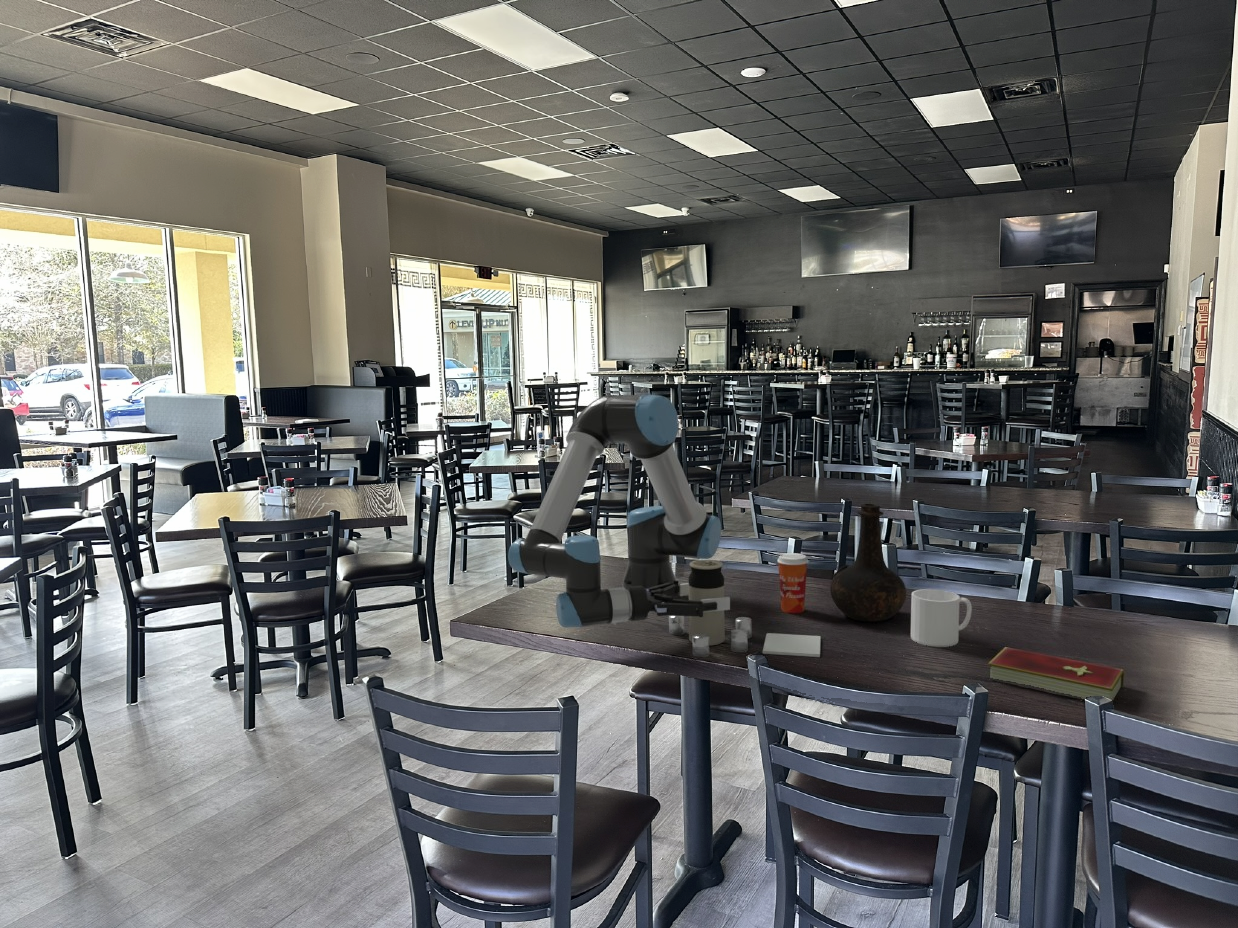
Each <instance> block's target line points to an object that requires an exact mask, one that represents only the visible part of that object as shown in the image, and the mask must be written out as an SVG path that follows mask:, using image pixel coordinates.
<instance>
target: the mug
mask: <svg viewBox="0 0 1238 928" xmlns="http://www.w3.org/2000/svg"><path fill="white" fill-rule="evenodd" d="M960 603H965V605H966V615H965V618H964V620H963V622H962V623H961V624H960V623H959V621H960ZM910 604H911V605H910V608H911V609H910V639H911V640H912V641H913V642H914V643H916V642H917V644H920V645H921V646H926V645H927V646H926V647H931V648H933V647H934V648H949V646H950V647H953V645H954V646H956V645H957V644H959V631H962V630H963V629H966V627H967V626H968V625H969V623H970V621H971V618H972V612H973V611H972V605H973V604H972V603H971V601H970V600H969V599H968V598H967V597H960V595H959V594H958V593H955V592H952V591H949V590H944V589H936V588H935V589H934V588H924V589H923V588H922V589H917V590H914V591H912V592H911V603H910Z"/></svg>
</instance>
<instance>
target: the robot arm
mask: <svg viewBox="0 0 1238 928" xmlns="http://www.w3.org/2000/svg"><path fill="white" fill-rule="evenodd" d="M678 419H679V416H678V413H677V410H676V408H675V405H674V404H673V402H672V401H671V400H670V399H669V398H667V397H665V396H663V395H658V394H657V395H654V394H627V395H626V394H607V395H603V396H601V397H599V398H596V399H595V400H593V401H592V402H591V403H589V404H588V405H587V406H586V407H585V408H584V409H583V410H582V411H580V413H579V414H578V415H577V417H576V418H575V419H574V421H572V424H571V425H570V427H569V430H568V431H567V434H566V437H565V440H566V443H567V444H566V447H565V449H564V451H563V454H562V456H561V458H560V460H559V463H558V466H557V467H556V470H555V472H554V474H553V476H552V479H551V481H550V484H549V485H548V488H547V491H546V493H545V495H544V497H543V499H542V501H541V504H540V506H539V509H538V511H537V512H536V516H535V518H534V520H533V522H532V525H531V527H530V529H529V531H528V533H527V535H526V538H517V539H515V541H513V543H511V544H510V546H509V549H508V554H507V557H508V558H507V559H508V563H509V566H510V567H511V568H512V570H513V571H516V572H517V573H521V574H527V575H538V576H542V577H543V576H545V577H549V578H558V579H564V580H565V584H566V585H565V592H564V591H563V592H561V593H559V594H558V595H557V597H556V600H555V601H556V603H555V609H556V618H557V621H558V623H559V625H560V626H561V627H562V628H565V629H566V628H568V629H569V628H584V627H591V626H599V625H600V626H601V625H608V624H613V625H614V626H617V625H618V623H626V622H628V621H630V622H637V621H646V619H647V618H648V614H649V613H650V612H655V613H656V616H658V617H663V616H665V617H667V616H669V615H672V616H684V617H689V616H699V617H703V613H704V612H713V611H722V610H724V611H729V610H731V597H730V596H724V597H721V598H712V599H702V600H701V601H692V600H689V599H681V598H674V597H676V596H678V595H679V596H680V597H684V596H689V582H686V583H679V580H676V579H677V578H676V577H675V573H674V571H673V568H672V565H671V561H670V560H671V559H670V556H674V557H681V558H688V559H695V560H710V559H711V558H713V557H714V556H715V554H716V553H717V550H718V549H719V546H720V541H721V536H722V525H721V520H720V518H719V517H718V516H715V515H713V514H712V515H709V514H708V512H707V510H706V508H705V506H704V505H703V504H702V503H700V502H698V501H696V498H695V496H694V493H693V491H692V488H691V486H690V485H689V482H688V479H687V476H686V475H685V472H684V470H683V467H682V464H681V463H680V460H679V458H678V456H677V453H676V450H675V449H674V443H675V440H676V438H677V436H678V432H679V422H678ZM609 444H625V445H626V446H627V448H628V450H629V452H630V454H631V455H632V457H634V458H635V459H637V460H640V461H641V463H642V466H643V467H644V469H645V472H646V474H647V477H648V479H649V481H650V483H651V485H652V487H653V491H654V492H655V495H656V496H657V499H658V500H659V502H660V505H655V506H645V507H640V508H636V509H634V510H630V512H628V514H627V520H626V521H627V523H626V528H627V530H626V531H627V532H626V534H627V535H626V536H627V565H626V568H625V572H624V575H623V579H622V586H621V587H614V588H613V587H612V588H611V587H610V588H604V589H602V587H601V586H602V585H601V579H602V577H601V575H602V574H601V561H602V557H601V549H600V541H599V539H598V538H597V537H595V536H593V535H588V534H587V535H586V534H585V535H580V534H578V535H572V536H568V537H566V539H565V540H564V543H562V542H561V541H562V539H563V538H564V537H563V536H564V534H565V532H566V531H567V528H568V525H569V523H570V520H571V518H572V516H573V514H574V511H575V508H576V505H577V504H578V501H579V499H580V497H581V495H582V492H583V490H584V487H585V485H586V483H587V480H588V477H589V475H590V473H591V470H592V468H593V465H594V463H595V461H596V459H597V457H600V456H601V455H603V453H604V450H605V448H606V446H608V445H609ZM696 609H697V610H696Z"/></svg>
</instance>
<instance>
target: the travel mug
mask: <svg viewBox="0 0 1238 928" xmlns="http://www.w3.org/2000/svg"><path fill="white" fill-rule="evenodd" d="M689 566H690V570H691V572H690V574H689V576H688V583H689V595H688V600H692V601H701V600H702V599H712V598H721V597H725V577H724V575H723V573H722V567H723V566H724V563H723V562H722V561H719V560H716V559H695V560H693V561H690V563H689ZM696 610H697V609H696ZM725 633H726V632H725V610H722V611H713V612H704V613H703V617H699V616H688V640H689V641H690V642H691V643H692V636H693V635H695V634H706V635H708V636H709V647H711V646H712V647H713V646H718V645H720V644H722V643H724V642H725V641H726V640H725V637H726V636H725Z"/></svg>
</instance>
